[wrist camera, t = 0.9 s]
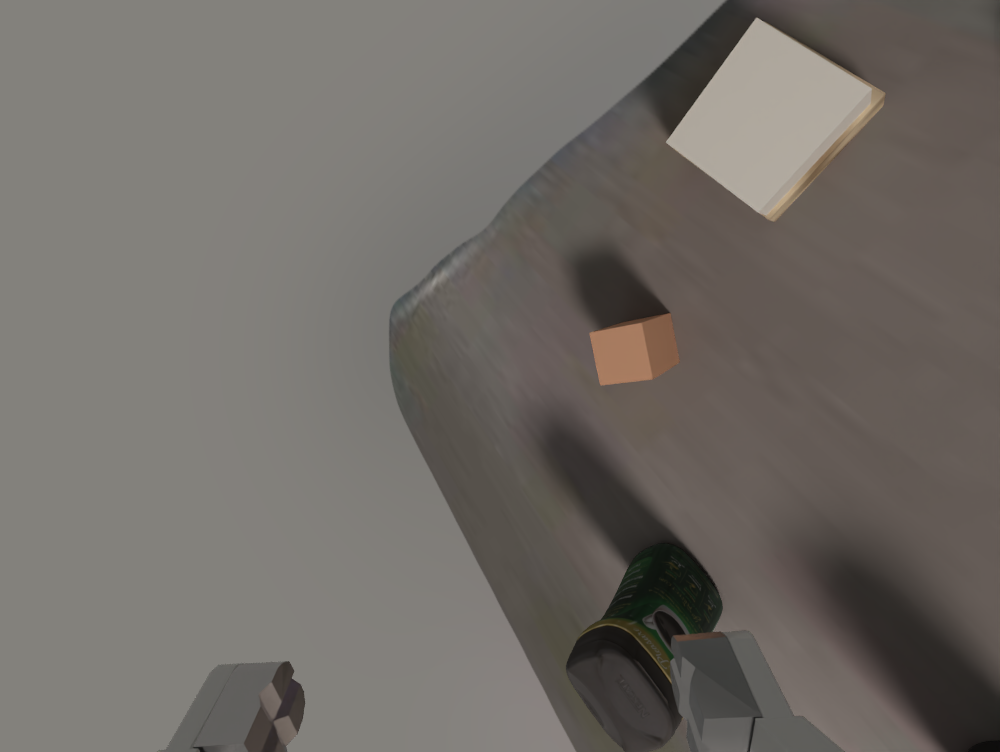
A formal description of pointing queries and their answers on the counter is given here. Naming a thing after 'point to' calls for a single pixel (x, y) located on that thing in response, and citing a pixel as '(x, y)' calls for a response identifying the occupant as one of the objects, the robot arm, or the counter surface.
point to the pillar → (635, 350)
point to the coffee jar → (642, 647)
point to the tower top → (768, 116)
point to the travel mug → (986, 747)
